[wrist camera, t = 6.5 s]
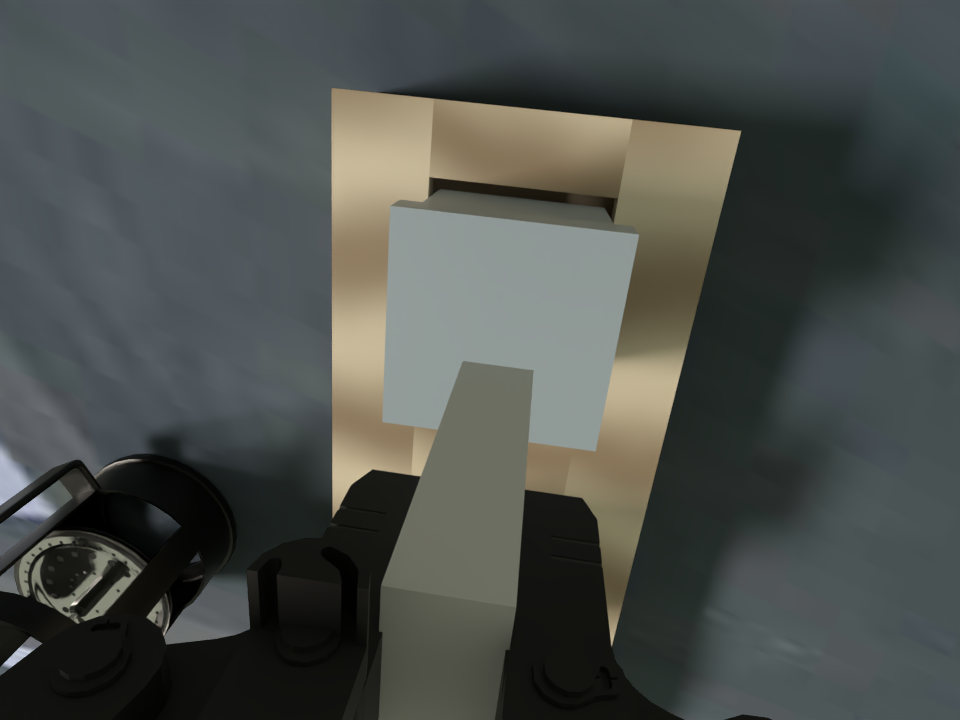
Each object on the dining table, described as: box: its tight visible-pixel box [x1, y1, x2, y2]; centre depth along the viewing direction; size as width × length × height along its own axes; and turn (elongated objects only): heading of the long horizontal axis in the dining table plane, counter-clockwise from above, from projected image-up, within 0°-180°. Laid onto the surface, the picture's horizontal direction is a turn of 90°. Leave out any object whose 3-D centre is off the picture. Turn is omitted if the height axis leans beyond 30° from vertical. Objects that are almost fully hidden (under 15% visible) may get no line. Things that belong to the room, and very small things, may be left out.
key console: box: [332, 88, 741, 646], centre depth 31 cm, size 38×14×6 cm, turn 175°
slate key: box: [382, 189, 639, 451], centre depth 20 cm, size 7×7×6 cm
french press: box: [0, 455, 237, 667], centre depth 26 cm, size 12×9×23 cm
